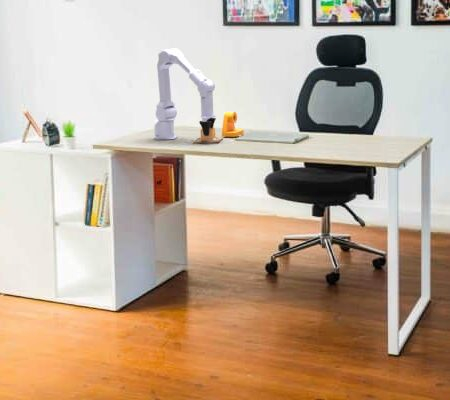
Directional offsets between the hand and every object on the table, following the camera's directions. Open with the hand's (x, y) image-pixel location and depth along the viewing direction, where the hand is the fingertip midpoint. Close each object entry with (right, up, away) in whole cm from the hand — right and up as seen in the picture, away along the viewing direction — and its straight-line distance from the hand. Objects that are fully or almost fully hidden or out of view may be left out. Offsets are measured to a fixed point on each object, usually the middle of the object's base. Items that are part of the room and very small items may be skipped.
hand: (208, 134), depth 449 cm
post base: (0, -3, +1) cm, 3 cm away
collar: (0, -2, 0) cm, 2 cm away
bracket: (+12, 0, +14) cm, 19 cm away
